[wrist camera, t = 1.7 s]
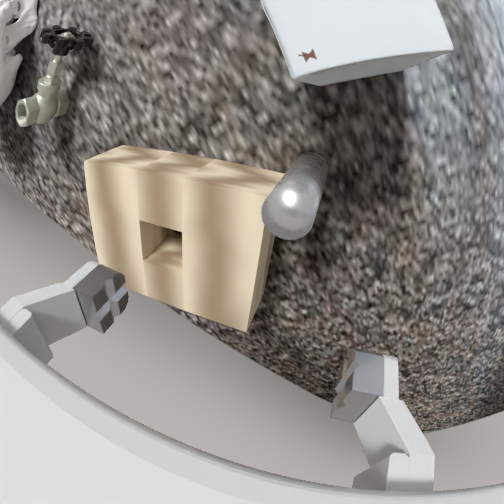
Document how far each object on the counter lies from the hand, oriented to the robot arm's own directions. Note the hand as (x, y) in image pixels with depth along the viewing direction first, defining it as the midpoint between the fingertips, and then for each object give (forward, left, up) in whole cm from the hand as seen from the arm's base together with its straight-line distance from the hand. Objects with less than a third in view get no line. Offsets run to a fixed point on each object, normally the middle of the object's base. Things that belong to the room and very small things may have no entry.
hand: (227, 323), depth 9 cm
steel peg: (0, 0, -19) cm, 19 cm away
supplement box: (-1, -12, -19) cm, 22 cm away
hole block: (+11, +8, -19) cm, 23 cm away
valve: (+29, -8, -19) cm, 36 cm away
